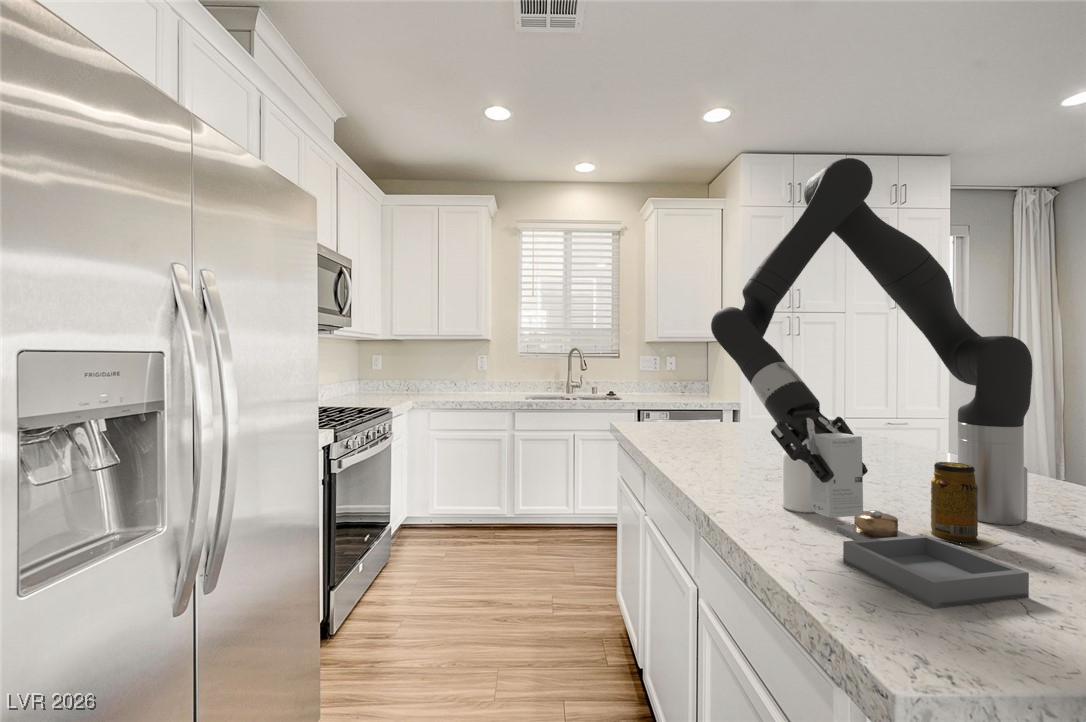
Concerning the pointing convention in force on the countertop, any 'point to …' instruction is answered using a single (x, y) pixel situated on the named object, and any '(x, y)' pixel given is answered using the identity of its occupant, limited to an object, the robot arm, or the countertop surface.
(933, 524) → the condiment
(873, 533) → the service bell
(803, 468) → the can
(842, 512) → the skincare box
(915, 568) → the tray
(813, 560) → the countertop surface
